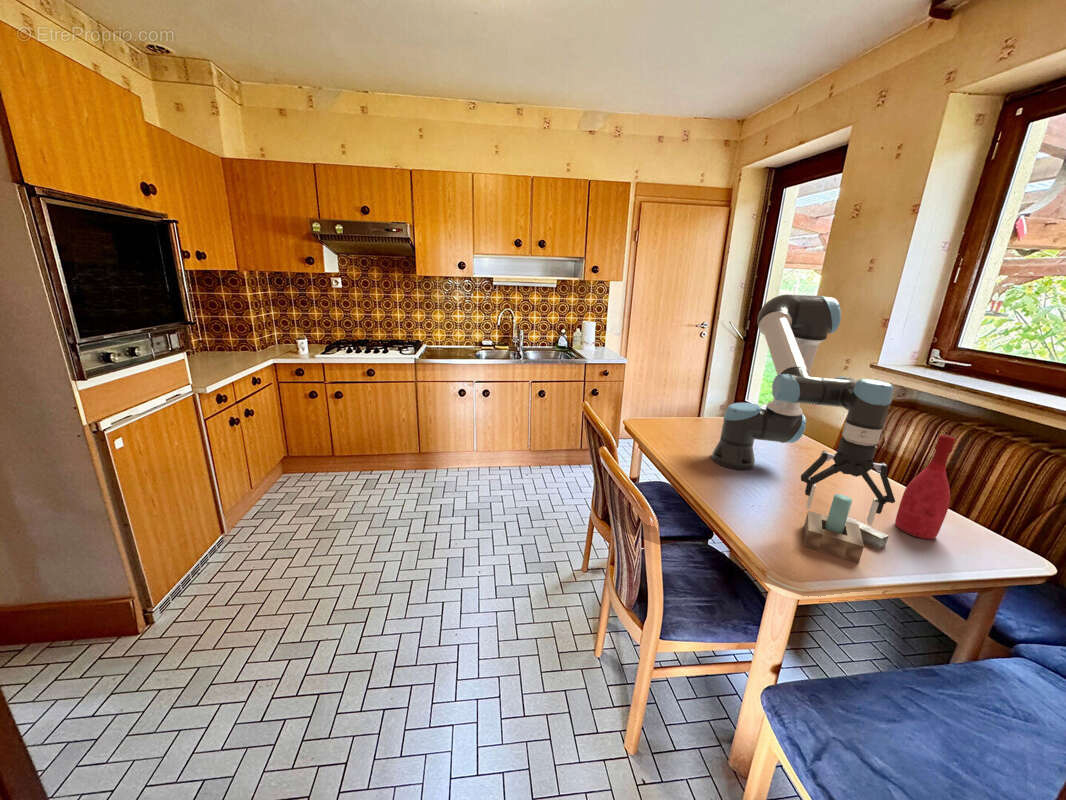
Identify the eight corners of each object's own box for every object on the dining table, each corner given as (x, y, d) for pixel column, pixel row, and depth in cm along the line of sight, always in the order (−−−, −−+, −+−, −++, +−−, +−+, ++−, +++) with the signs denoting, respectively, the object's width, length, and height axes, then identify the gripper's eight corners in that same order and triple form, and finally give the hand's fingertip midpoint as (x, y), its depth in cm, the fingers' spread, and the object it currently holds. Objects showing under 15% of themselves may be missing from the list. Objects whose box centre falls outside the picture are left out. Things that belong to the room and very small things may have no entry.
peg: (821, 544, 116) (834, 498, 112) (820, 537, 119) (833, 492, 115) (839, 549, 114) (853, 503, 110) (838, 542, 117) (851, 497, 113)
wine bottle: (884, 521, 129) (914, 428, 121) (914, 521, 130) (946, 429, 121) (915, 541, 120) (950, 442, 111) (946, 540, 121) (983, 442, 112)
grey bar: (838, 530, 124) (842, 519, 123) (846, 527, 125) (849, 516, 124) (877, 550, 115) (881, 538, 114) (885, 547, 117) (888, 535, 116)
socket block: (804, 546, 115) (808, 530, 113) (804, 525, 125) (808, 510, 123) (858, 563, 109) (864, 546, 107) (854, 540, 119) (858, 524, 117)
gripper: (802, 433, 111) (784, 505, 117) (926, 458, 99) (899, 537, 105) (802, 425, 117) (785, 494, 123) (919, 447, 105) (894, 523, 111)
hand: (837, 514), depth 114 cm, fingers open, 13 cm apart
